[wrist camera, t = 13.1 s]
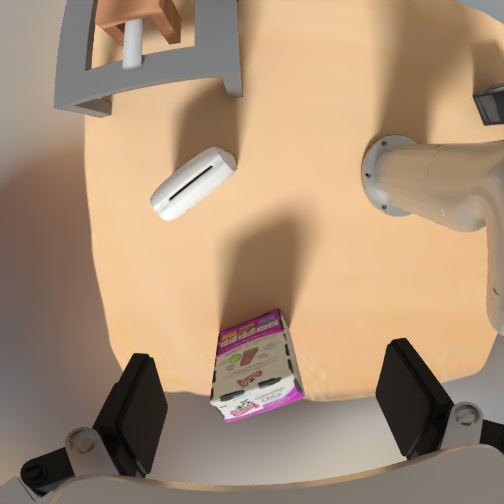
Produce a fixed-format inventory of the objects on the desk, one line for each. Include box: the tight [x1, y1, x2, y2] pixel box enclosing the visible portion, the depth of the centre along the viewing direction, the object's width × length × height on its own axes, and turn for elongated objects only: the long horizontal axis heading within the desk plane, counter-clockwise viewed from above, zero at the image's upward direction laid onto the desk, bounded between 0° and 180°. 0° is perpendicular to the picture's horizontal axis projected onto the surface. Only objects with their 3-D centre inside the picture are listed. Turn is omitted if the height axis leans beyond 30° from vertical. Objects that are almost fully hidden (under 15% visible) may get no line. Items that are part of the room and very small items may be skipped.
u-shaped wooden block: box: [95, 0, 181, 47], centre depth 24 cm, size 7×4×11 cm, turn 93°
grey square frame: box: [54, 0, 243, 118], centre depth 28 cm, size 22×19×14 cm
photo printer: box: [150, 146, 238, 221], centre depth 35 cm, size 10×4×12 cm, turn 126°
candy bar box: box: [210, 309, 305, 422], centre depth 40 cm, size 11×5×16 cm, turn 115°
